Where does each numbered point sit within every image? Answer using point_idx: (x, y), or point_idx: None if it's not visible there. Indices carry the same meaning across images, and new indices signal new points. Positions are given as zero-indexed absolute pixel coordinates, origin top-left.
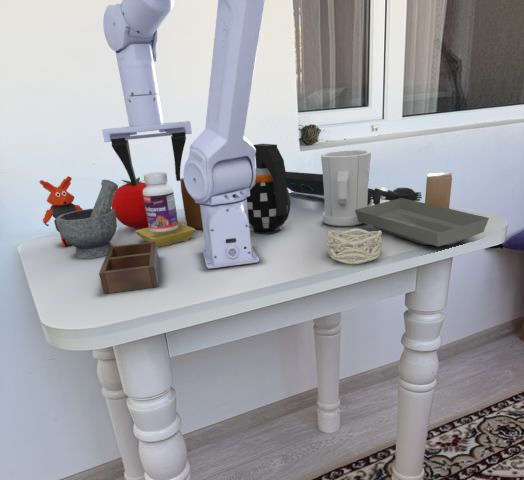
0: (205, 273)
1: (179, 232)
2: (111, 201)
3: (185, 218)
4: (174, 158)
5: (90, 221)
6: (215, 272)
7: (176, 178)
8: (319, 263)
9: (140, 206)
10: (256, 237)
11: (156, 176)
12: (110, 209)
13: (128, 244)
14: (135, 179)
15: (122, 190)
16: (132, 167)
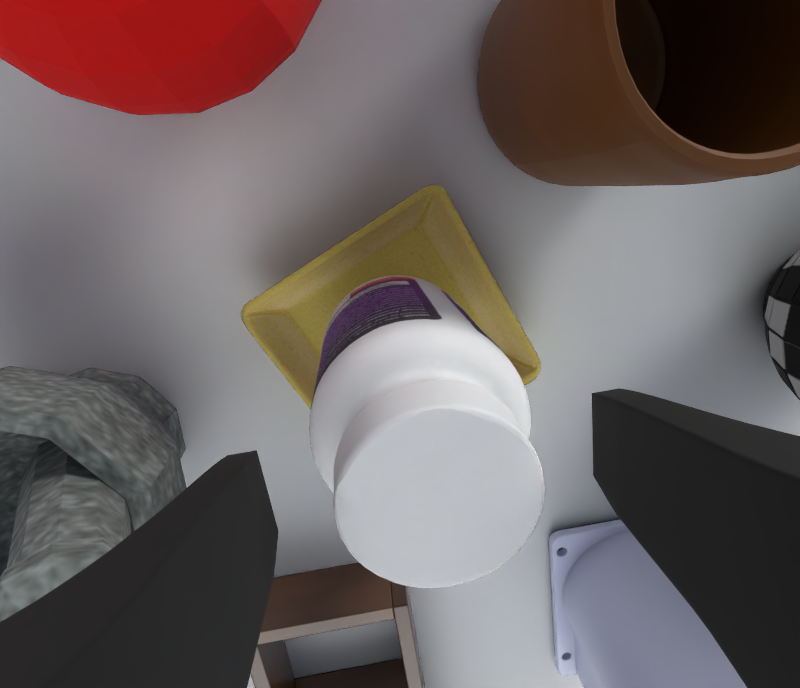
0: (548, 683)
1: (452, 269)
2: None
3: (485, 85)
4: (725, 650)
5: None
6: (573, 680)
7: (605, 491)
8: None
9: (202, 98)
10: (749, 384)
11: (464, 578)
12: (125, 505)
13: (309, 625)
14: (260, 521)
15: None
16: (216, 575)
